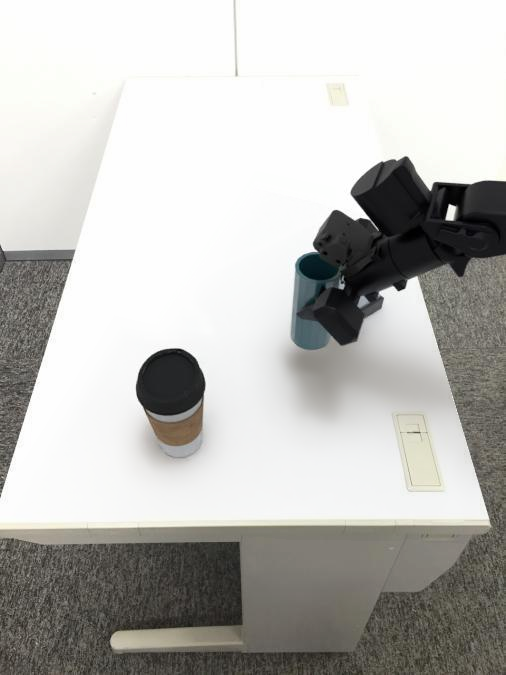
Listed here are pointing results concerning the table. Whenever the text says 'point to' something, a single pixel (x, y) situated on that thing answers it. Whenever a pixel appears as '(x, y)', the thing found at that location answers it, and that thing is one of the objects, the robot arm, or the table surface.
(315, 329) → the tumbler
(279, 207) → the table surface
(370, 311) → the scale
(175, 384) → the coffee cup
